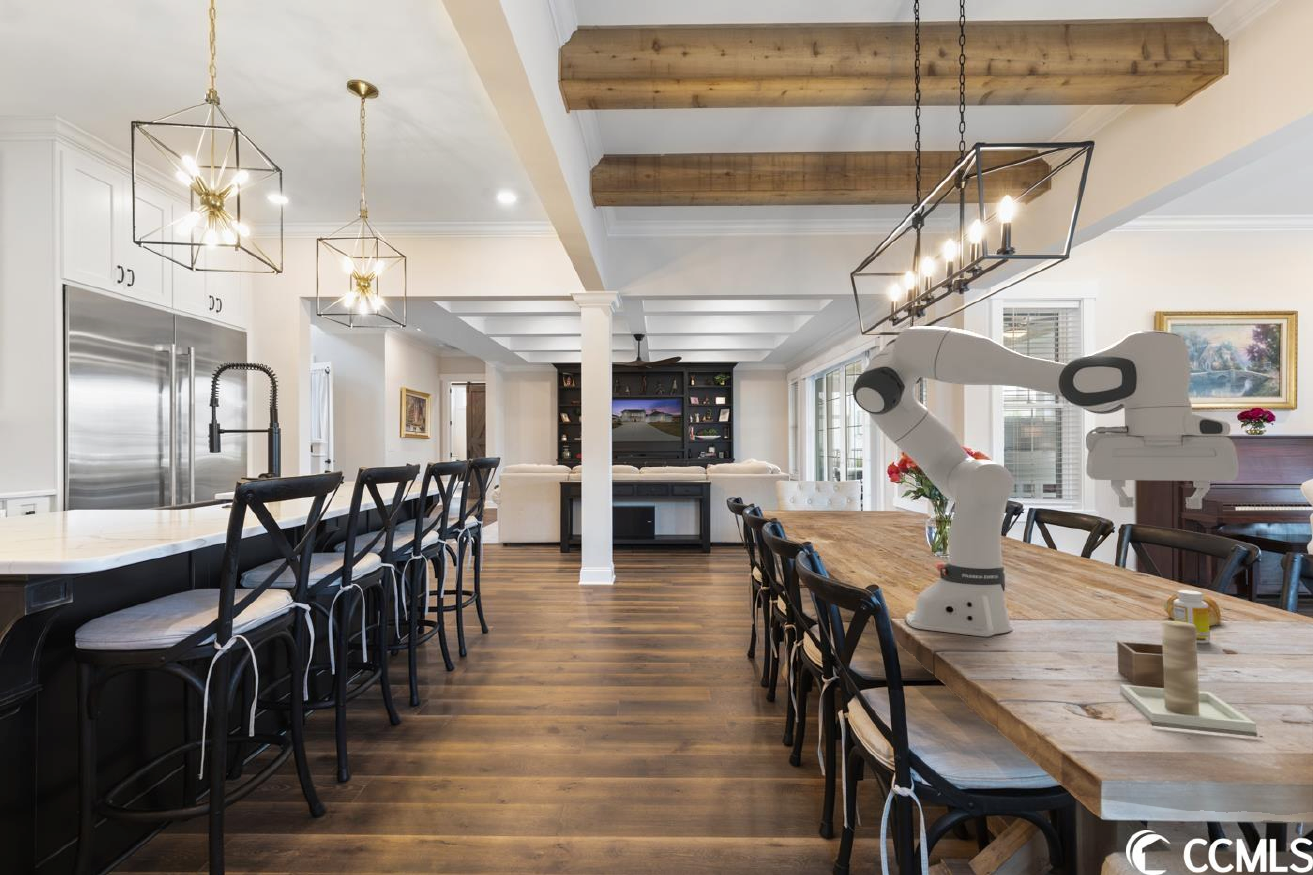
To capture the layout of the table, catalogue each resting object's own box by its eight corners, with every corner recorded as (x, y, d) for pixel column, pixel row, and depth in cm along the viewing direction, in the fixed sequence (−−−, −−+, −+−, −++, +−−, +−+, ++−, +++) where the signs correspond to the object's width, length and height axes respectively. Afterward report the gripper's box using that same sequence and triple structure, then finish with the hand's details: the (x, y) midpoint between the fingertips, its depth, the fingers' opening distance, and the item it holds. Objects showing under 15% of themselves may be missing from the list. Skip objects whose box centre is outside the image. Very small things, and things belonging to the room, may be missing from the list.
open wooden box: (1135, 689, 103) (1133, 653, 103) (1118, 674, 110) (1117, 641, 110) (1187, 693, 101) (1185, 657, 101) (1166, 678, 107) (1165, 644, 108)
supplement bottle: (1212, 640, 129) (1210, 592, 129) (1207, 646, 125) (1204, 596, 126) (1178, 635, 133) (1176, 588, 134) (1172, 640, 130) (1170, 591, 130)
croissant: (1205, 647, 135) (1227, 618, 133) (1153, 619, 142) (1172, 591, 139) (1212, 626, 150) (1231, 600, 148) (1164, 601, 157) (1182, 576, 154)
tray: (1153, 725, 89) (1152, 713, 89) (1120, 695, 100) (1119, 684, 100) (1256, 736, 85) (1256, 723, 85) (1210, 703, 97) (1210, 692, 97)
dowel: (1171, 713, 92) (1168, 626, 92) (1159, 703, 95) (1156, 619, 96) (1204, 717, 90) (1201, 628, 91) (1191, 706, 94) (1188, 621, 94)
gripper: (1092, 426, 103) (1094, 507, 103) (1243, 424, 97) (1245, 511, 97) (1079, 427, 109) (1081, 504, 109) (1220, 425, 103) (1222, 507, 103)
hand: (1159, 507), depth 103 cm, fingers open, 8 cm apart
